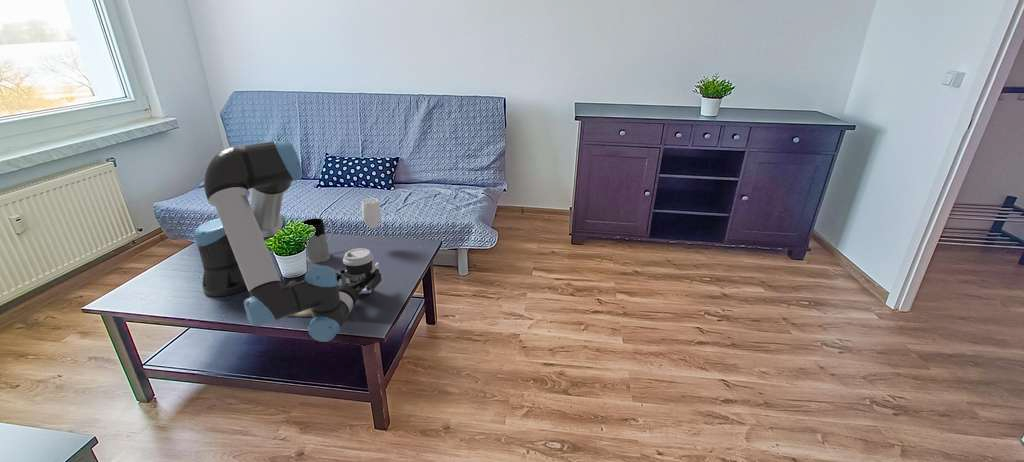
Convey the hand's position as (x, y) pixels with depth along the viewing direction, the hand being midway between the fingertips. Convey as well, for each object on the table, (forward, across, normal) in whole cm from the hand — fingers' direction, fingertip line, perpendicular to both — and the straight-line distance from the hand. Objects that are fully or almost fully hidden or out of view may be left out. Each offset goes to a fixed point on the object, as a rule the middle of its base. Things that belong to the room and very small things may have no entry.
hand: (365, 265), depth 157 cm
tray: (-11, -17, -8) cm, 22 cm away
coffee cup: (-5, 0, -8) cm, 10 cm away
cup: (+30, -6, -8) cm, 32 cm away
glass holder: (+24, -25, -8) cm, 36 cm away
